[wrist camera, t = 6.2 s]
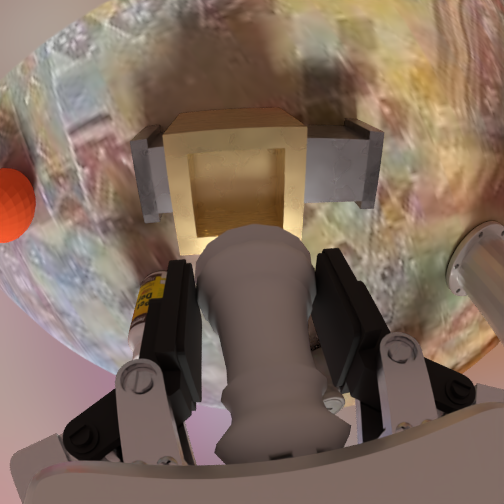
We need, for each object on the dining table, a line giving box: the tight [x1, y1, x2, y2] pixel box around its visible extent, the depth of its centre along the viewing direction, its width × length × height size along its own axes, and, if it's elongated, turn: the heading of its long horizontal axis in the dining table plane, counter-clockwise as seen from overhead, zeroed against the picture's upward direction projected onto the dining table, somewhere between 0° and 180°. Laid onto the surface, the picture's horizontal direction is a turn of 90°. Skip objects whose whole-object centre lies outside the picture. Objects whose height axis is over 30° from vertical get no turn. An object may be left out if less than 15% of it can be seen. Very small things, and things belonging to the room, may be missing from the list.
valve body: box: [130, 107, 384, 256], centre depth 22 cm, size 18×8×8 cm, turn 91°
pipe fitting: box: [311, 347, 345, 415], centre depth 38 cm, size 12×8×10 cm
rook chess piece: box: [195, 224, 351, 465], centre depth 9 cm, size 4×4×8 cm
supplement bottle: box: [128, 271, 167, 360], centre depth 28 cm, size 6×6×10 cm
